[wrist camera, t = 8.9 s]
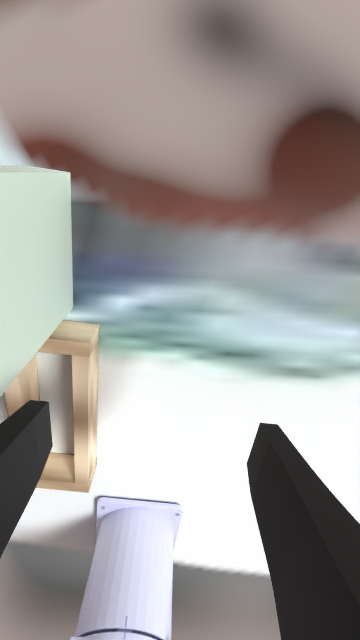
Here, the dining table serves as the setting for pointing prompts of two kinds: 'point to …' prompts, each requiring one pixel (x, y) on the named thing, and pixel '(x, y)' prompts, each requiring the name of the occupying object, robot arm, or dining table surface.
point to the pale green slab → (32, 262)
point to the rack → (84, 351)
